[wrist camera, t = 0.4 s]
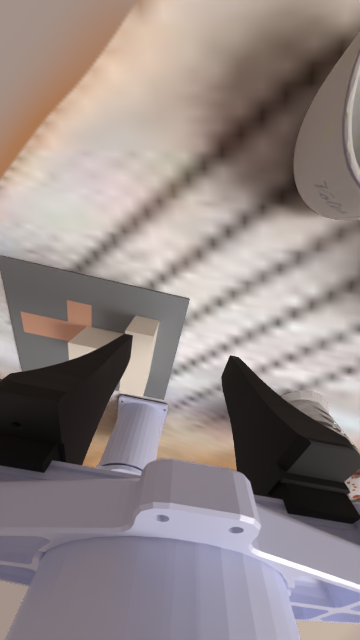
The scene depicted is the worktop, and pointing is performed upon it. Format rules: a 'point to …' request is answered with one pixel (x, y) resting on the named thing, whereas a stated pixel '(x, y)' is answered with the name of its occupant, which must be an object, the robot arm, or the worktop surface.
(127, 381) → the t block
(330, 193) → the teacup
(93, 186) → the worktop surface
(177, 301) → the slate mat
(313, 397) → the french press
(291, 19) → the worktop surface
